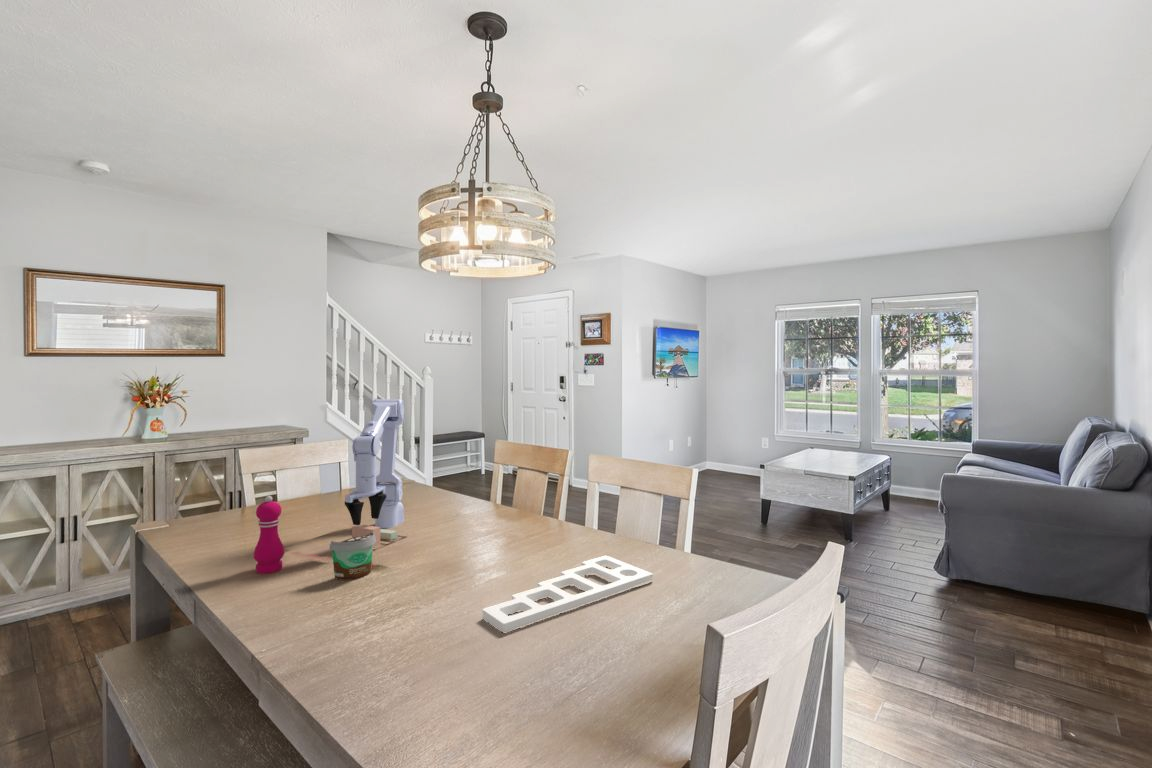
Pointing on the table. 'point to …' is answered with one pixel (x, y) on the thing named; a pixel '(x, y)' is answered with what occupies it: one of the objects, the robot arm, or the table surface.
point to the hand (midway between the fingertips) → (366, 521)
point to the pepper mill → (268, 538)
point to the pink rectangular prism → (366, 532)
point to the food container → (353, 557)
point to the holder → (565, 599)
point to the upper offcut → (388, 534)
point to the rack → (389, 541)
